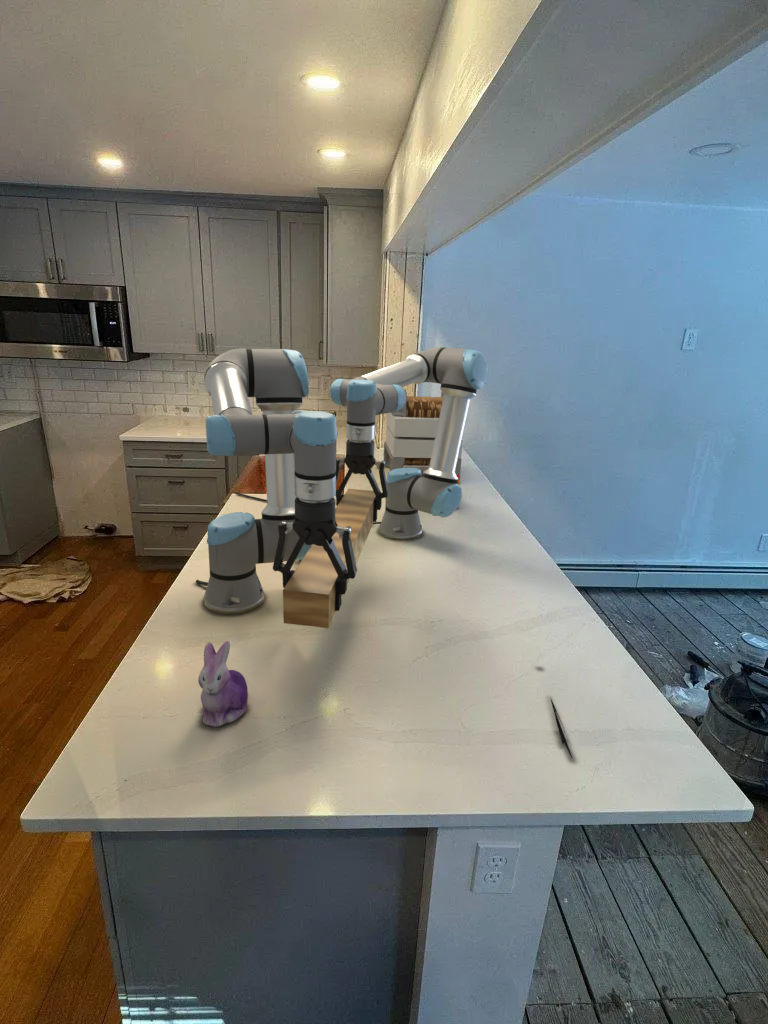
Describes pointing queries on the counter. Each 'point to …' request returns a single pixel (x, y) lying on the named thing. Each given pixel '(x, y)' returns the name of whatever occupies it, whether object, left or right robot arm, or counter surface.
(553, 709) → the feather
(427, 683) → the counter surface
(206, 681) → the figurine
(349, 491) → the wide beam
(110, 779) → the counter surface
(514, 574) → the counter surface
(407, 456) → the white slatted crate
